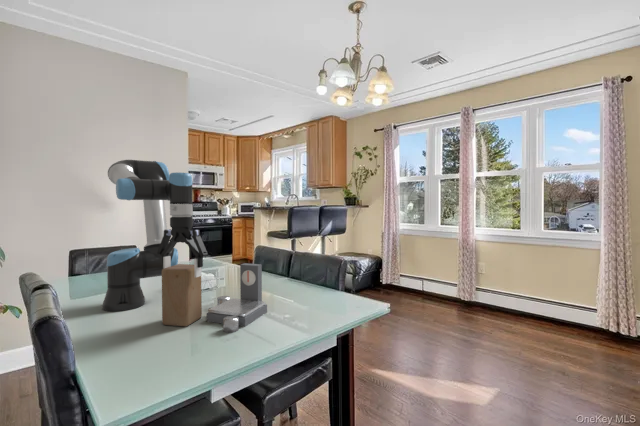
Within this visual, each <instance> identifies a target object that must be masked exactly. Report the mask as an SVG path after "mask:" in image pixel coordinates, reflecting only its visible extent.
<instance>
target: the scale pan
mask: <svg viewBox="0 0 640 426" xmlns="http://www.w3.org/2000/svg"><path fill="white" fill-rule="evenodd" d="M265 304H266V301H264V300H263V301H254V300H245V299H241V298H236V297H235V298H234V297H231V298H230V300H227V301H225V302H223V303H221V304H219V305H215V306H213V307H211V308H209V309H208V312H211V313H218V314H226V315H234V316H242V317H245V316H247V315H249V314H250V313H252V312H254V311H255V310H257V309H258V308H260V307H262V306H263V305H265Z"/></svg>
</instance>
